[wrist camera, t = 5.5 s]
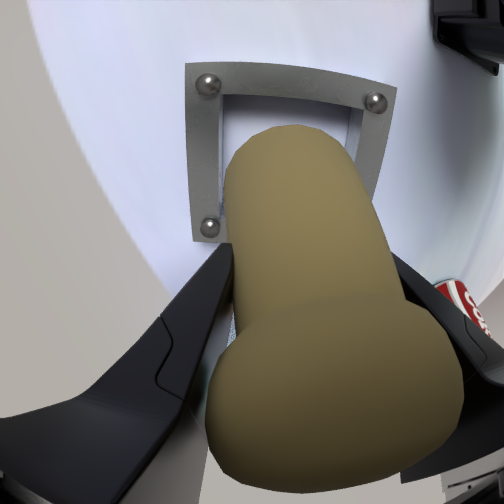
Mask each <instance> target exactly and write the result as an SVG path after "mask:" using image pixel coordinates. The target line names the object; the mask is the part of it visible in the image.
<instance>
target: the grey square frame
mask: <svg viewBox="0 0 504 504" xmlns="http://www.w3.org/2000/svg"><path fill="white" fill-rule="evenodd" d="M396 92H397V87H393V86H390V85H387V84H383V83H380V82H376V81H372V80H368V79H364V78H360V77H356V76H352V75H347V74H342V73H337V72H332V71H326V70H320V69H314V68H307V67H300V66H292V65H282V64H270V63H254V62H198V63H185V122H186V150H187V170H188V186H189V200H190V213H191V225H192V236H193V241H196V242H220V243H227V232H226V219H225V206H224V204H223V203H222V143H223V94H241V95H262V96H276V97H287V98H297V99H305V100H313V101H320V102H326V103H332V104H338V105H344V106H349V107H352V109H351V115H350V121H349V127H348V133H347V139H346V144H345V150H346V151H347V153H348V154H349V155H350V157H351V158H352V160H353V162H354V164H355V166H356V168H357V170H358V173H359V175H360V177H361V179H362V181H363V183H364V186H365V188H366V190H367V192H368V195H369V197H370V199H371V202H372V198H373V195H374V191H375V188H376V184H377V180H378V176H379V173H380V169H381V165H382V161H383V157H384V152H385V148H386V144H387V139H388V134H389V130H390V125H391V120H392V115H393V109H394V104H395V98H396Z"/></svg>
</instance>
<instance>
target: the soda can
mask: <svg viewBox="0 0 504 504" xmlns="http://www.w3.org/2000/svg"><path fill="white" fill-rule="evenodd" d="M434 287H435V288H437V289H438V290H439V291H440V292H441V293H442V294H443V295H445V296H446V297H447V298H448V299H449V300H450V301H451V302H452V303H454V304H455V305H456V306H457V307H458V308H459V309H460V310H461V311H462V312H463V313H464V314H466V315H467V316H468V317H469V318H470V319H471V320H472V321H473V322H474V323H475V324H476V325H477V326H479V327H480V328H481V329H482V330H483V331H484V332H485V333H486V334H487V335H489V336H490V337H491V338H492V336H491V334H490V331H489V329H488V327H487V325H486V323H485V321H484V319H483V318H482V316H481V314H480V312H479V310H478V308H477V306H476V305H475V303H474V301H473V299H472V298H471V296H470V294H469V292H468V291H467V289H466V287H465V286H464V284H463V283H462V282H461V281H460V280H457V279H450V280H446V281H443V282H440V283H438V284H436V285H434ZM492 339H493V338H492Z"/></svg>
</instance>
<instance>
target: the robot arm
mask: <svg viewBox="0 0 504 504" xmlns="http://www.w3.org/2000/svg"><path fill="white" fill-rule="evenodd" d="M440 35H441V37H442V40H441V39H440ZM434 39H435V41H436V42H437V43H438V44H440V45H442V46H444V47H446V48H448V49H449V50H451V51H453V52H455V53H457V54H459V55H460V56H462V57H464V58H466V59H467V60H469V61H471V62H472V63H474V64H475V65H477V66H479V67H480V68H482V69H483V70H485V71H486V72H488V73H489V74H491V75H494V76H497V75H498V73H499V63H500V64H504V0H434ZM391 254H392V257H393V260H394V263H395V266H396V269H397V272H398V275H399V278H400V282H401V285H402V288H403V292H404V295H405V299H406V300H407V301H409V302H411V303H413V304H415V305H418V306H420V307H422V308H424V309H426V310H428V311H429V313H430V314H431V315H432V316H433V317H434V318H435V320H436V321H437V322H438V323H439V324H440V325H441V327H442V328H443V329H444V330H445V331H446V333H447V335H448V337H449V340H450V342H451V344H452V347H453V349H454V351H455V354H456V356H457V358H458V361H459V364H460V366H461V369H462V376H463V388H464V401H463V405H462V409H461V413H460V417H459V421H458V424H457V428H456V429H455V430H454V431H453V433H452V434H451V435H450V436H449V438H448V439H447V440H446V441H445V443H444V444H443V445H442V446H441V447H439V448H438V449H436V450H435V451H434V452H432V453H431V454H429V455H428V456H426V457H425V458H423V459H422V460H420V461H419V462H417V463H415V464H414V465H412V466H410V467H408V468H407V469H405V470H403V471H401V472H400V477H401V483H402V484H403V483H408V482H412V481H416V480H420V479H424V478H427V477H431V476H434V475H437V474H441V482H442V491H443V492H445V495H446V503H444V504H504V349H503V348H502V347H501V346H500V345H499V344H498V343H496V342H495V341H494V340H493V339H492V338H491V337H490V336H489V335H487V334H486V333H485V332H484V331H483V330H482V329H481V328H480V327H479V326H477V325H476V324H475V323H474V322H473V321H472V320H471V319H470V318H469V317H468V316H467V315H466V314H464V313H463V312H462V311H461V310H460V309H459V308H458V307H457V306H456V305H455V304H454V303H452V302H451V301H450V300H449V299H448V298H447V297H446V296H445V295H443V294H442V293H441V292H440V291H439V290H438V289H437V288H435V287H434V286H433V285H432V284H431V283H429V282H428V281H427V280H426V279H425V278H424V277H422V276H421V275H420V274H419V273H417V272H416V271H415V270H414V269H413V268H411V267H410V266H409V265H408V264H406V263H405V262H404V261H403V260H401V259H400V258H399V257H397V256H396V255H395V254H394V253H392V252H391ZM233 272H234V253H233V248H232V243H221V244H220V245H219V246H218V247H217V249H216V250H215V251H214V252H213V253H212V254H211V255H210V257H209V258H208V259H207V260H206V261H205V262H204V264H203V265H202V266H201V267H200V268H199V269H198V270H197V272H196V273H195V274H194V275H193V276H192V277H191V279H190V280H189V281H188V282H187V283H186V284H185V286H184V287H183V288H182V289H181V290H180V292H179V293H178V294H177V295H176V296H175V297H174V299H173V300H172V301H171V302H170V303H169V305H168V306H167V307H166V308H165V310H164V311H163V312H162V313H161V314H160V317H157V319H156V320H155V321H154V323H153V324H152V325H151V326H150V327H149V328H148V329H147V331H146V332H145V333H144V334H143V335H142V336H141V337H140V339H139V340H138V341H137V342H136V343H135V344H134V345H133V346H132V347H131V348H130V349H129V350H128V351H127V352H126V353H125V354H124V355H123V356H122V357H121V358H120V359H119V360H118V361H117V362H116V363H115V364H114V365H113V366H112V367H110V368H109V370H107V371H106V372H105V373H104V374H103V375H102V376H101V377H100V378H99V379H98V380H97V381H96V382H95V383H94V384H93V385H92V386H91V387H90V388H88V389H87V390H86V391H84V392H83V393H82V394H80V395H78V396H76V397H74V398H72V399H70V400H67V401H63V402H60V403H57V404H54V405H51V406H47V407H44V408H41V409H37V410H34V411H30V412H27V413H23V414H20V415H16V416H12V417H7V418H0V504H198V503H199V497H200V491H201V485H202V480H203V474H204V468H205V463H206V457H207V451H208V446H209V445H208V440H207V435H206V429H205V424H204V423H205V410H206V401H207V392H208V384H209V381H210V378H211V376H212V373H213V371H214V368H215V366H216V363H217V361H218V358H219V356H220V355H221V354H222V353H223V352H224V350H225V349H226V348H227V343H228V337H229V332H230V327H231V321H232V315H233V300H232V291H233Z"/></svg>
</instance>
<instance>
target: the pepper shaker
mask: <svg viewBox="0 0 504 504" xmlns="http://www.w3.org/2000/svg"><path fill="white" fill-rule="evenodd" d="M223 192H224V206H225V219H226V232H227V243H232V248H233V253H234V272H233V291H232V300H233V310H234V320H235V330H236V338H235V340H234V341H233V342H232V343H231V344H230V345H229V346H228V347H227V348H226V349H225V350H224V352H223V353H222V354H221V355H220V356H219V358H218V361H217V363H216V366H215V368H214V371H213V373H212V376H211V378H210V381H209V384H208V392H207V401H206V410H205V423H204V424H205V429H206V435H207V440H208V445H209V449H210V451H211V453H212V454H213V456H214V458H215V460H216V461H217V463H218V464H219V466H220V468H221V469H222V471H223V473H225V474H226V475H228V476H230V477H231V478H233V479H235V480H236V481H238V482H240V483H241V484H245V485H249V486H254V487H258V488H262V489H267V490H272V491H277V492H287V493H300V494H303V493H316V492H325V491H332V490H338V489H343V488H349V487H354V486H358V485H362V484H367V483H371V482H375V481H378V480H382V479H385V478H388V477H390V476H392V475H394V474H396V473H399V472H401V471H403V470H405V469H407V468H408V467H410V466H412V465H414V464H415V463H417V462H419V461H420V460H422V459H423V458H425V457H426V456H428V455H429V454H431V453H432V452H434V451H435V450H436V449H438V448H439V447H441V446H442V445H443V444H444V443H445V441H446V440H447V439H448V438H449V436H450V435H451V434H452V433H453V431H454V430H455V429H456V428H457V424H458V421H459V417H460V413H461V409H462V405H463V401H464V388H463V376H462V369H461V366H460V364H459V361H458V358H457V356H456V354H455V351H454V349H453V347H452V344H451V342H450V340H449V337H448V335H447V333H446V331H445V330H444V329H443V328H442V327H441V325H440V324H439V323H438V322H437V321H436V320H435V318H434V317H433V316H432V315H431V314H430V313H429V311H428V310H426V309H424V308H422V307H420V306H418V305H415V304H413V303H411V302H409V301H407V300H406V299H405V295H404V292H403V288H402V285H401V282H400V278H399V275H398V272H397V269H396V266H395V263H394V260H393V257H392V254H391V251H390V248H389V245H388V243H387V240H386V237H385V234H384V232H383V229H382V226H381V224H380V221H379V219H378V216H377V214H376V211H375V209H374V206H373V204H372V202H371V199H370V197H369V195H368V192H367V190H366V188H365V186H364V183H363V181H362V179H361V177H360V175H359V173H358V170H357V168H356V166H355V164H354V162H353V160H352V158H351V157H350V155H349V154H348V153H347V151H346V150H345V149H344V148H343V146H342V145H341V144H340V142H339V141H337V140H336V139H334V138H333V137H331V136H329V135H328V134H326V133H325V132H323V131H321V130H319V129H315V128H311V127H307V126H302V125H298V124H297V125H286V126H276V127H272V128H270V129H268V130H265V131H263V132H261V133H259V134H256V135H254V136H252V137H251V138H250V139H249V140H248V141H247V142H246V143H245V144H243V145H242V146H241V147H240V148H239V149H238V150H237V151H236V152H235V154H234V156H233V158H232V160H231V162H230V164H229V165H228V167H227V169H226V174H225V181H224V189H223Z"/></svg>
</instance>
